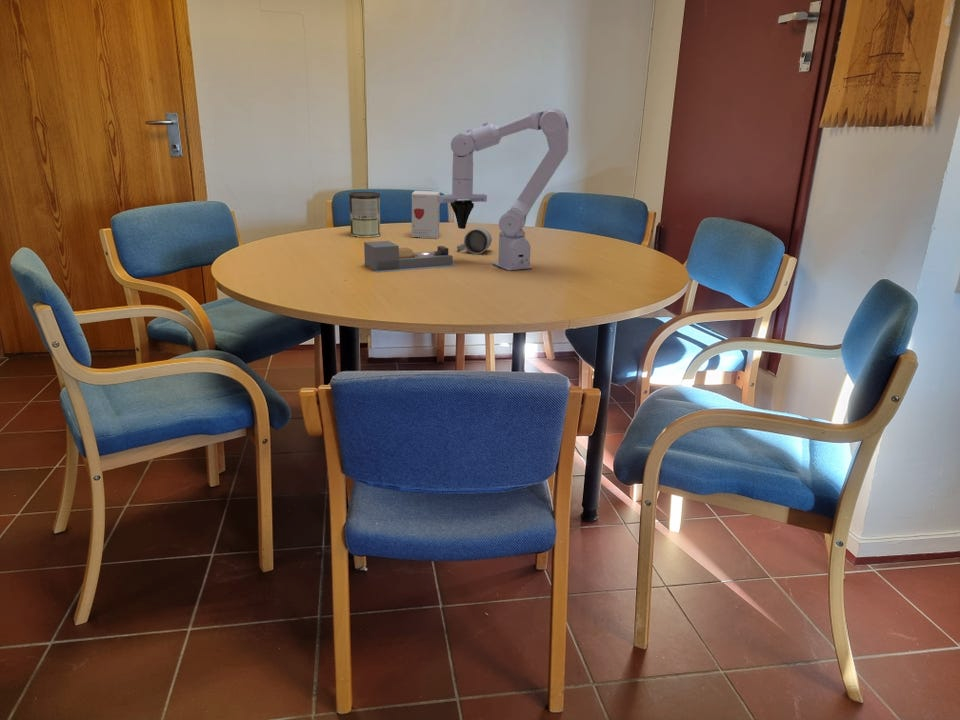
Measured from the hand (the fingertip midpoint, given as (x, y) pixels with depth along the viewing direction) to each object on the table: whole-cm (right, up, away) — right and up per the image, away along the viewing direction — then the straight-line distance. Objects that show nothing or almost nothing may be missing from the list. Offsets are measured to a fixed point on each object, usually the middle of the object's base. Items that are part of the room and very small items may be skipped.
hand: (461, 228), depth 198 cm
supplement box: (-14, +5, +43) cm, 46 cm away
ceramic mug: (+3, -4, +19) cm, 20 cm away
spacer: (-16, -11, -5) cm, 20 cm away
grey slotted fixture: (-13, -11, -3) cm, 18 cm away
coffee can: (-34, +5, +42) cm, 54 cm away
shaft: (-9, -10, -1) cm, 13 cm away
